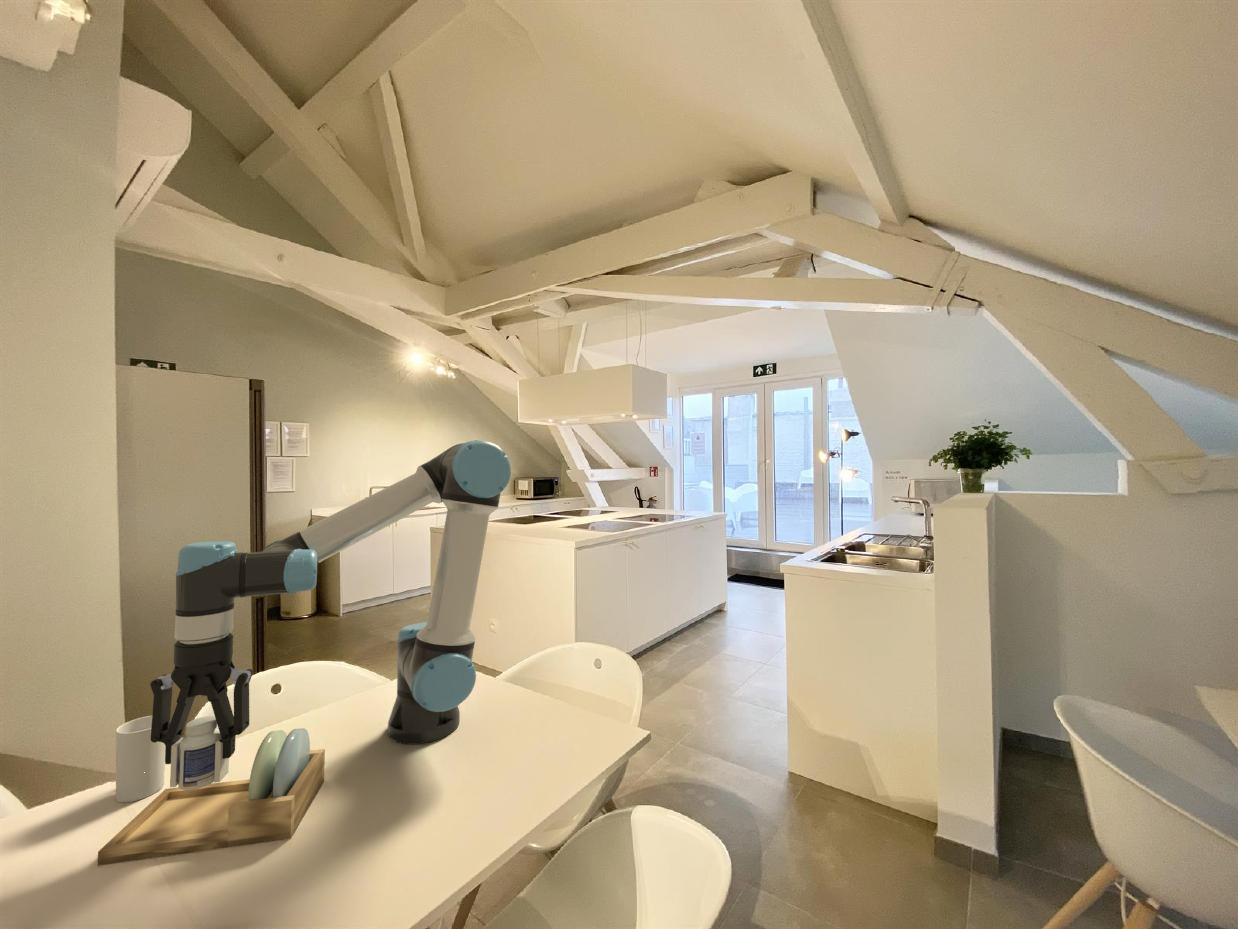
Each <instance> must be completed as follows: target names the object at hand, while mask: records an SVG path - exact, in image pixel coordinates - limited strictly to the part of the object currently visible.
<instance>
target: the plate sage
mask: <svg viewBox="0 0 1238 929" xmlns="http://www.w3.org/2000/svg"><path fill="white" fill-rule="evenodd" d="M287 736H288V734H287V733H286V731H284V729H283V730H281V729H280V730H272V731H270V732H268V733H267V734H266V735H265V736H264V738H263V739H262V741H261V743H260V745H259V746H258V749H257V752H256V754H255V757H254V760H253V763H252V767H251V772H250V774H249V775H250V776H249V779H250V781H249V792H248V798H249V801H250V800H259V799H267V798H268V796H269V795H270V794H271V792H272V791H273V782H274V774H275V769H276V764H277V760H278V757H279V753H280V751H281V748H282V745H283V743H284V741H285V739H286V737H287Z"/></svg>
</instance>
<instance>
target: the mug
mask: <svg viewBox="0 0 1238 929" xmlns="http://www.w3.org/2000/svg"><path fill="white" fill-rule="evenodd" d="M151 727H152V715H147V716H142V717H137V718H135V719H132V720H130V721H127V722H124V723H123V724H121V725H119V726H118V727H117V728H116V729H115V798H116V799H115V800H116V801H117V802H118V803H119V802H120V803H131V802H135V801H139V800H144V799H146V798H147V797H150V796H153V795H155V793H158V792H159V791H160V790H161V789H162V788H163V787H164V785H165V772H166V763H165V744H164V743H162V742H155V743H154V742H152V741H151ZM144 772H145V773H144Z"/></svg>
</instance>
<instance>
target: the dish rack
mask: <svg viewBox="0 0 1238 929" xmlns="http://www.w3.org/2000/svg"><path fill="white" fill-rule="evenodd" d="M325 753H326V749H325V748H323V749H322V748H321V749H313V750H312V749H310V756H309V763H308V765H307V766H306V768H305V769H304V771H303V772H302V774H301V775H300V777H299V778H298V779H297V781H296V782H295V784H294V785H293V787H292V788H291V790H290V791H289V793H288V794H287V796H283V797H275V798H273V791H272V792H271V794H270V795H269V796H268V798H267V799H259V800H250V801H249V798H248V792H249V781H250V778H249V779H241V780H231V781H224V782H215V783H214V782H213V783H211V784H209V785H207V786H205V787H202V788H199V789H195V790H182V789H180V788H179V786H178V787H169V788H165V789H164V790H163V791H162V792H161V793H160V794H158V796H156V797H155V798H154V799H153V800H152V801H151V802H150V803H149V804H148V805H147V806H145V807H144V808H143V809H142V810H141V811H140V812H139V813H138V814H137V815H136V816H134V818H133V819H131V820H130V822H128V823H127V824H126V825H125V826H124V827H123V828H122V829H120V830H119V832H118V833H116V834H115V835H114V836H113V837H112V838H111V839H110V840H109V841H108V842H106V844H105V845H104V846H102V848H100V849H99V850H98V851H97V867H99V866H105V865H113V864H119V863H127V862H128V863H129V862H134V861H140V860H148V859H155V858H162V857H163V858H164V857H170V856H176V855H185V854H190V853H199V852H206V851H214V850H221V849H227V848H229V849H230V848H235V847H243V846H249V845H250V846H251V845H257V844H262V843H263V844H264V843H270V842H277V841H278V842H279V841H285V840H290V839H292V838H293V836H294V834H295V833H296V831H297V830H298V827H299V826H300V824H301V822H302V821H303V819H304V817H305V816H306V813H307V812H308V810H309V808H310V807H311V805H312V804H313V801H314V800H315V798H316V796H317V795H318V793H319V791H320V790H321V788H322V786H323V785H324V783H325V762H326V761H325V757H326V756H325Z"/></svg>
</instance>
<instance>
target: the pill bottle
mask: <svg viewBox="0 0 1238 929" xmlns="http://www.w3.org/2000/svg"><path fill="white" fill-rule="evenodd" d="M184 734H185V736H183V737H184V738H183V739H182V740H181V742H180V746H179V775H178V785H177V786H178V787H179V788H180V789H182V790H195V789H199V788H202V787H205V786H207V785H209V784H213V783H214V774H215V743H216V741H217V740H218V739H219V738H220V737H221V735H220V732H219V728H218V725H217V722H216V718H215V715H207V716H202V717H198V718H195V719H192V720H190V721H189V722H186V724H185V730H184Z"/></svg>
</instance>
